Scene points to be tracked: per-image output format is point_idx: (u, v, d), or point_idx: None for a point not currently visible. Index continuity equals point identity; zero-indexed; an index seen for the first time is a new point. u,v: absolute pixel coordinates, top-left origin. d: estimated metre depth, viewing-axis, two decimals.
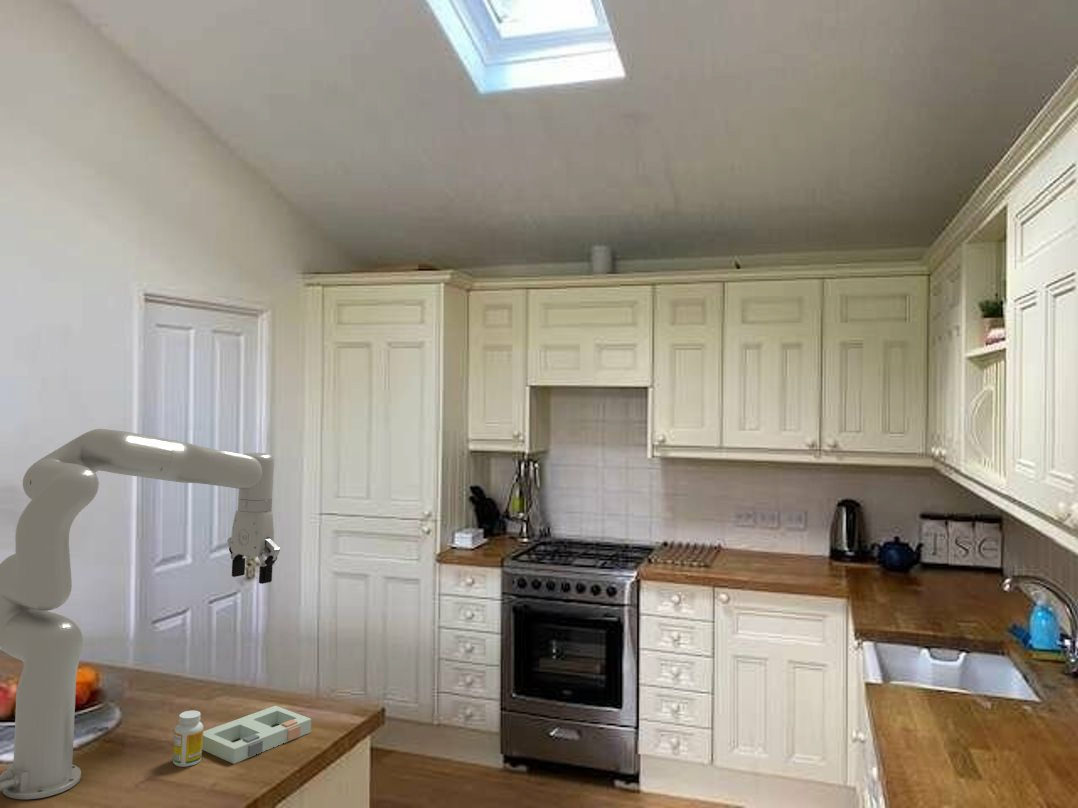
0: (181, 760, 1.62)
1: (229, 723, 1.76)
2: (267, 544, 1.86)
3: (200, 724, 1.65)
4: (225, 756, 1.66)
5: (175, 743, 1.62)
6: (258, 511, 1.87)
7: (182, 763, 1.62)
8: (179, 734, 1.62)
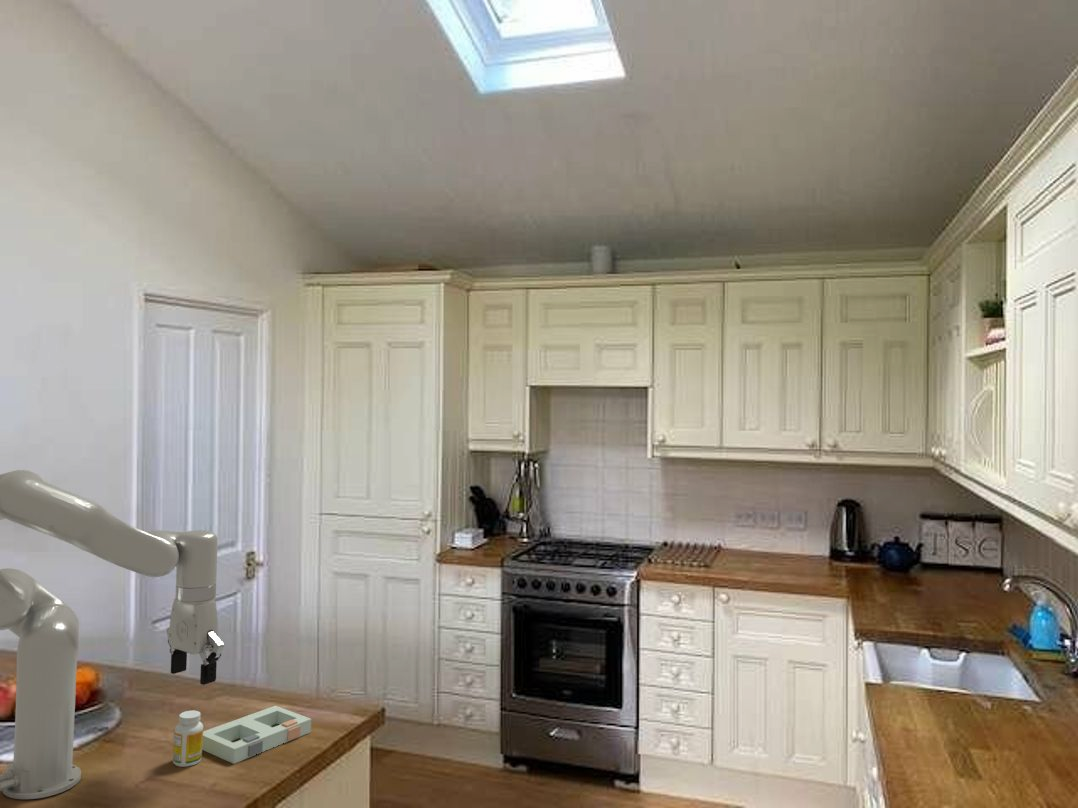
0: (181, 760, 1.62)
1: (229, 723, 1.76)
2: (209, 639, 1.61)
3: (200, 724, 1.65)
4: (225, 756, 1.66)
5: (175, 743, 1.62)
6: (198, 600, 1.61)
7: (182, 763, 1.62)
8: (179, 734, 1.62)
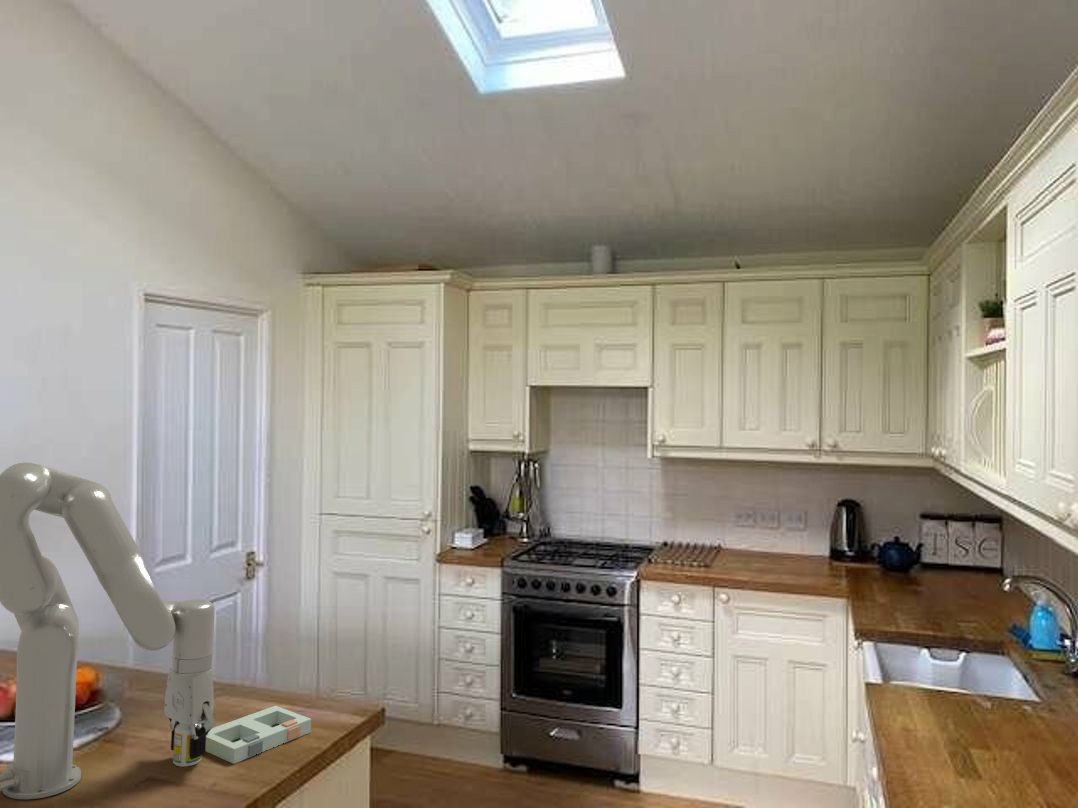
0: (181, 760, 1.62)
1: (229, 723, 1.76)
2: (203, 713, 1.61)
3: (200, 724, 1.65)
4: (225, 756, 1.66)
5: (175, 743, 1.62)
6: (195, 672, 1.61)
7: (182, 763, 1.62)
8: (179, 734, 1.62)
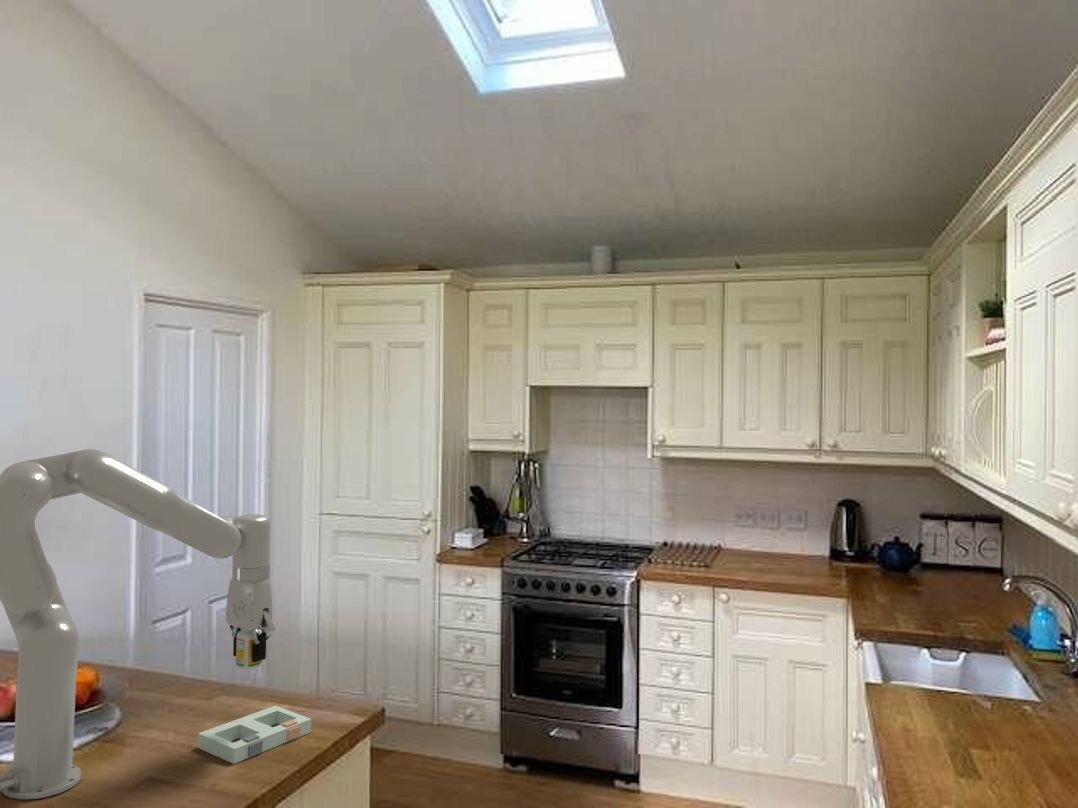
0: (243, 663, 1.71)
1: (229, 723, 1.76)
2: (263, 619, 1.71)
3: (260, 631, 1.74)
4: (225, 756, 1.66)
5: (237, 648, 1.72)
6: (254, 580, 1.70)
7: (245, 666, 1.71)
8: (241, 639, 1.71)
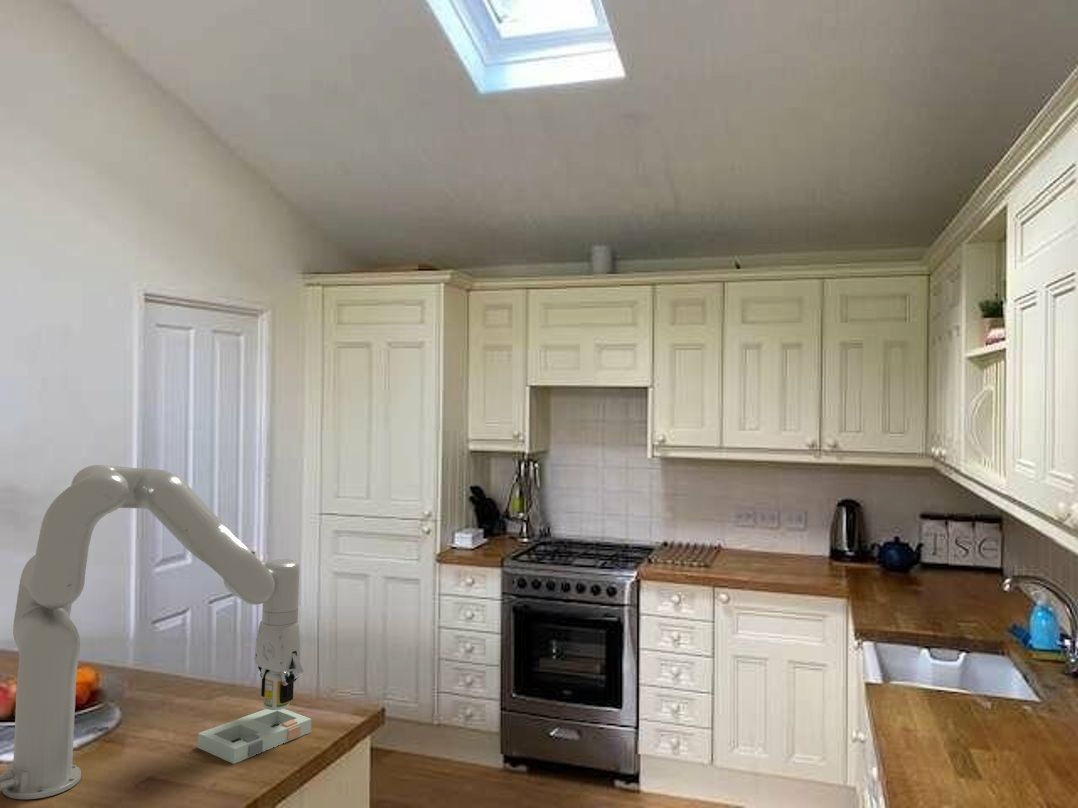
0: (272, 704, 1.78)
1: (229, 723, 1.76)
2: (292, 662, 1.77)
3: (288, 672, 1.80)
4: (225, 756, 1.66)
5: (266, 689, 1.78)
6: (284, 624, 1.77)
7: (273, 707, 1.78)
8: (270, 681, 1.78)
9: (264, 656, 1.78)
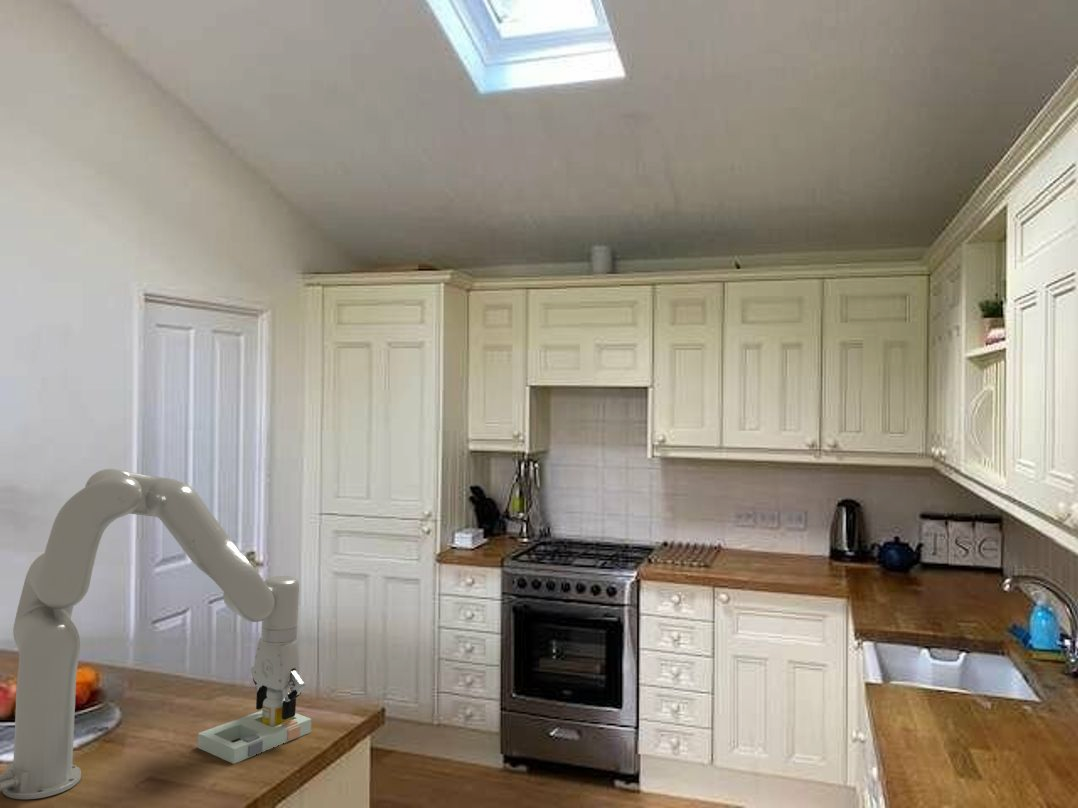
0: None
1: (229, 723, 1.76)
2: (292, 677, 1.77)
3: None
4: (225, 756, 1.66)
5: (263, 715, 1.78)
6: (283, 641, 1.77)
7: None
8: (268, 708, 1.77)
9: (263, 673, 1.78)
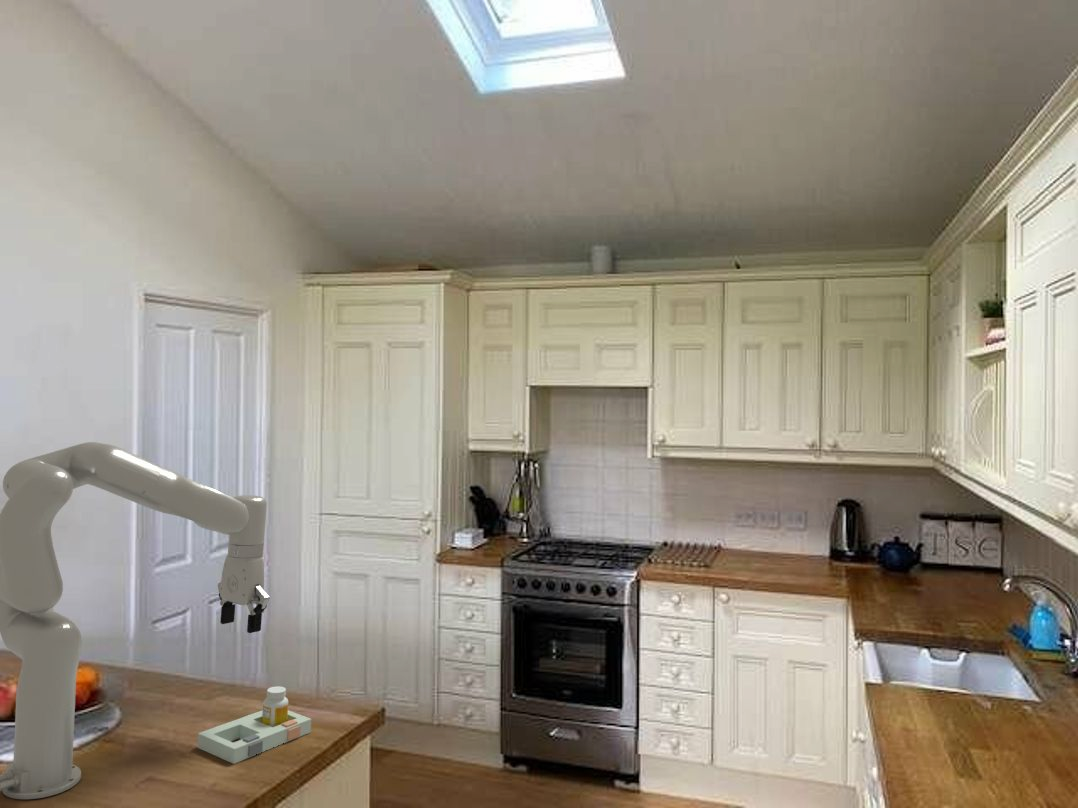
0: None
1: (229, 723, 1.76)
2: (256, 592, 1.79)
3: (286, 699, 1.80)
4: (225, 756, 1.66)
5: (264, 715, 1.78)
6: (248, 557, 1.79)
7: None
8: (268, 708, 1.77)
9: (228, 589, 1.81)
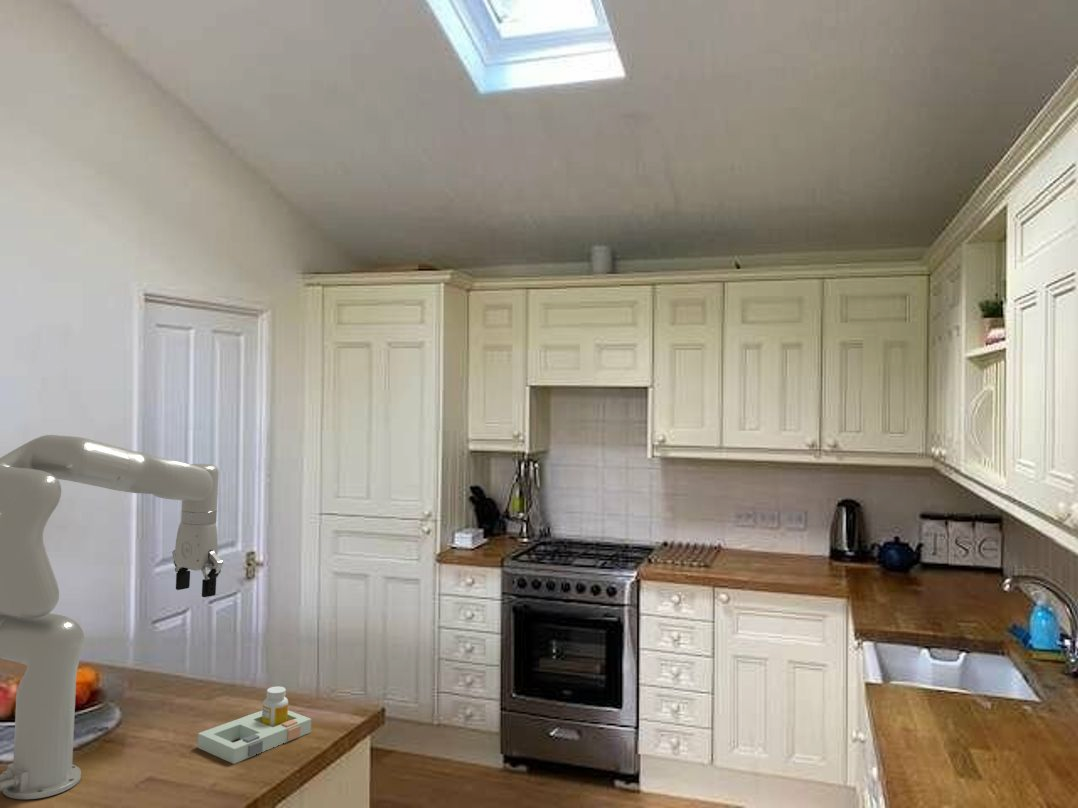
0: None
1: (229, 723, 1.76)
2: (210, 557, 1.83)
3: (285, 699, 1.80)
4: (225, 756, 1.66)
5: (263, 715, 1.78)
6: (201, 523, 1.83)
7: None
8: (268, 708, 1.77)
9: (182, 555, 1.85)
